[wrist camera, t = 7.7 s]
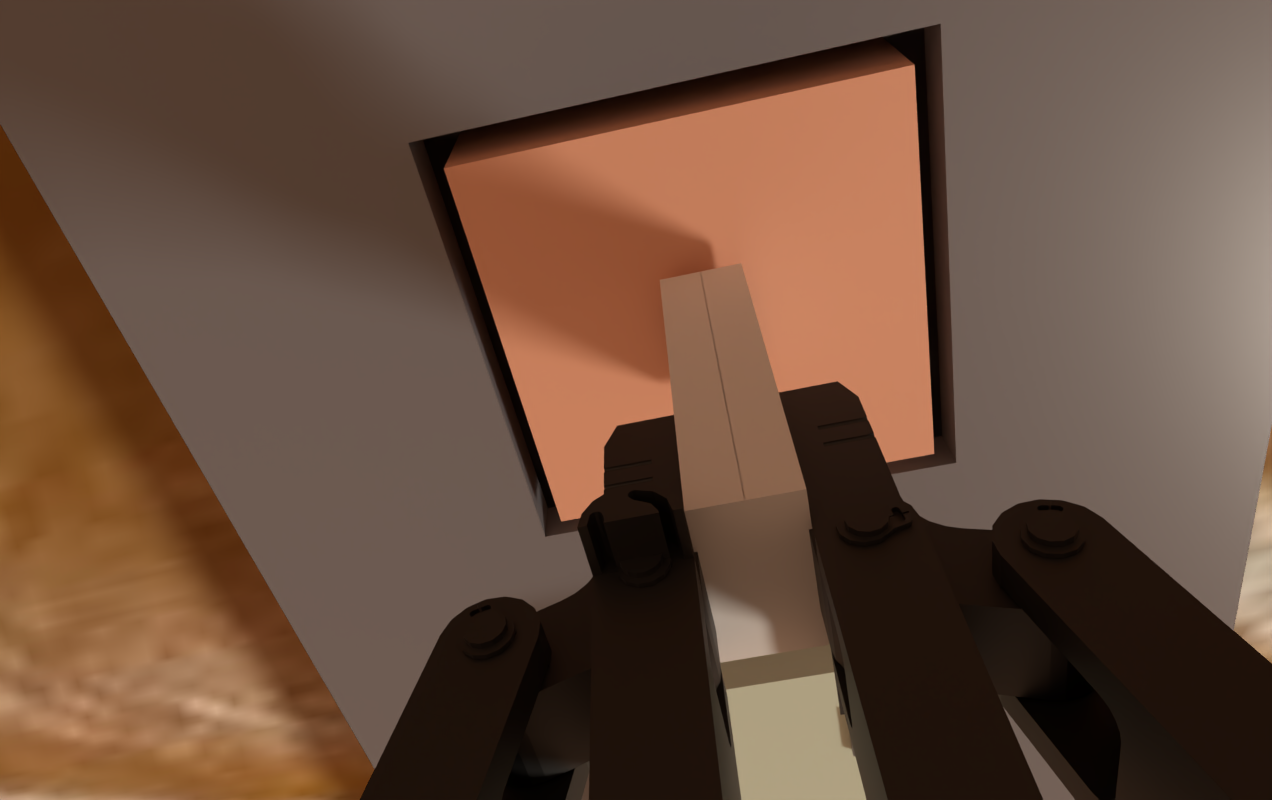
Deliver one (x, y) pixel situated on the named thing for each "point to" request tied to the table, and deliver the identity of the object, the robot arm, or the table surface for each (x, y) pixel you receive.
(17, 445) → the table surface
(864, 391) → the button terracotta
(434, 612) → the button panel
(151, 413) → the table surface
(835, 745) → the button sage
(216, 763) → the table surface
